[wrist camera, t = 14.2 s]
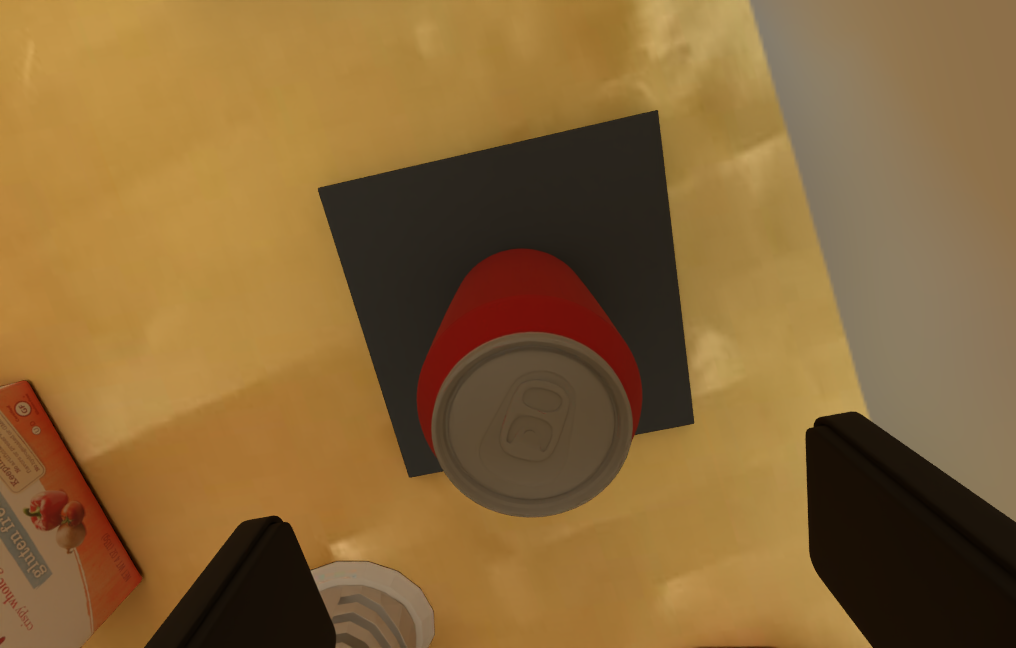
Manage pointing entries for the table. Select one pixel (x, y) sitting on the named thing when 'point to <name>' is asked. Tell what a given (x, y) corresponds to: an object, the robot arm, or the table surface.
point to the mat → (516, 225)
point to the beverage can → (528, 388)
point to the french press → (374, 606)
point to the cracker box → (51, 536)
